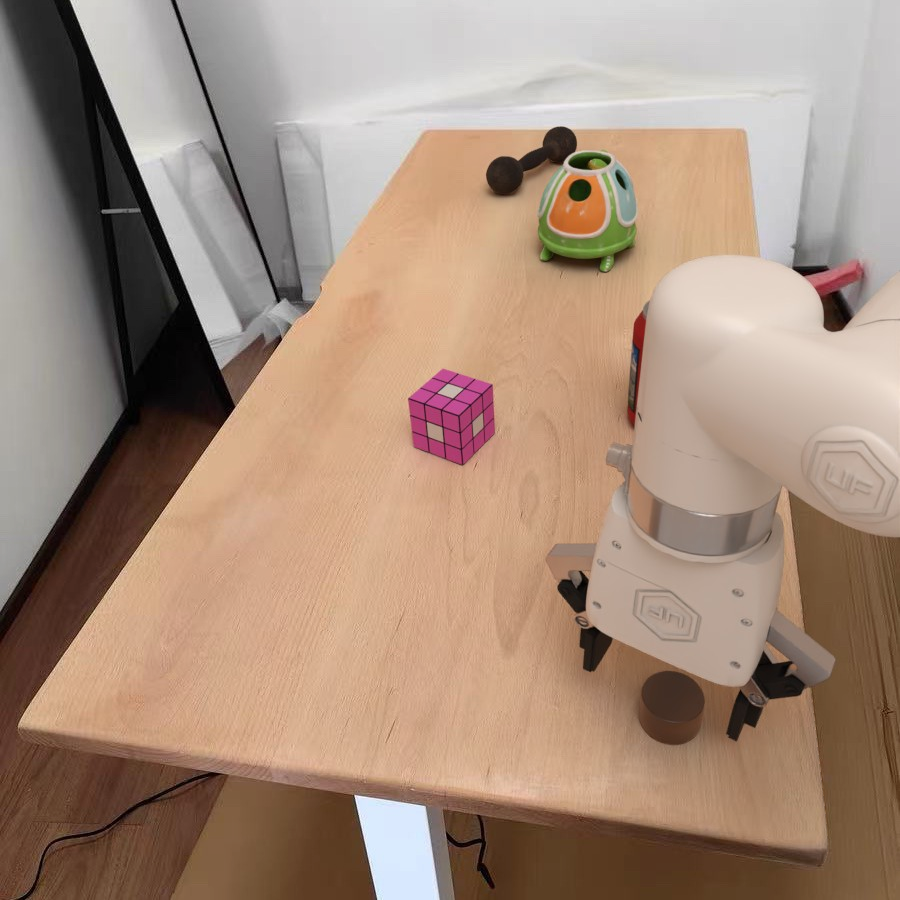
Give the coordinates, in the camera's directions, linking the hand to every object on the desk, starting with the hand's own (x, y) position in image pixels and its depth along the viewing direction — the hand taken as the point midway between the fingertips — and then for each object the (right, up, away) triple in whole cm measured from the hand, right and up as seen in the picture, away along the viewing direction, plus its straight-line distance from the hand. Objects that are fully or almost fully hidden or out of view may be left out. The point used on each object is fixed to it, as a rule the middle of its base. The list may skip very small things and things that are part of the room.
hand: (665, 687), depth 56 cm
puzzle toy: (-13, +16, +27) cm, 34 cm away
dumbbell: (-1, +57, +77) cm, 96 cm away
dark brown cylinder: (+1, -2, +2) cm, 3 cm away
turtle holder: (+4, +42, +57) cm, 71 cm away
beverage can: (+6, +18, +27) cm, 33 cm away
